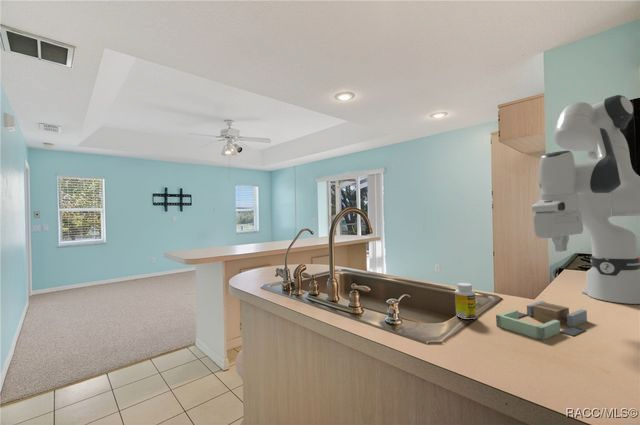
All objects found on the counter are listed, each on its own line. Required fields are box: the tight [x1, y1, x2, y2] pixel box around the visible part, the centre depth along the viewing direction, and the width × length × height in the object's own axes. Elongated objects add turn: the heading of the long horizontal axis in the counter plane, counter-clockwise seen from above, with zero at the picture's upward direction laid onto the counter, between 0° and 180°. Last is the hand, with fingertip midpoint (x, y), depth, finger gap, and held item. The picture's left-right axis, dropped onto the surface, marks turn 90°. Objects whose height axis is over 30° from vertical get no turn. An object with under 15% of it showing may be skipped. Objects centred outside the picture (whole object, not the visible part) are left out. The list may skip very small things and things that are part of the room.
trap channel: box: [495, 300, 588, 341], centre depth 83 cm, size 23×17×3 cm
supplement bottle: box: [454, 282, 477, 320], centre depth 90 cm, size 6×6×10 cm
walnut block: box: [533, 302, 570, 325], centre depth 85 cm, size 6×6×4 cm
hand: (561, 251), depth 89 cm, fingers closed
